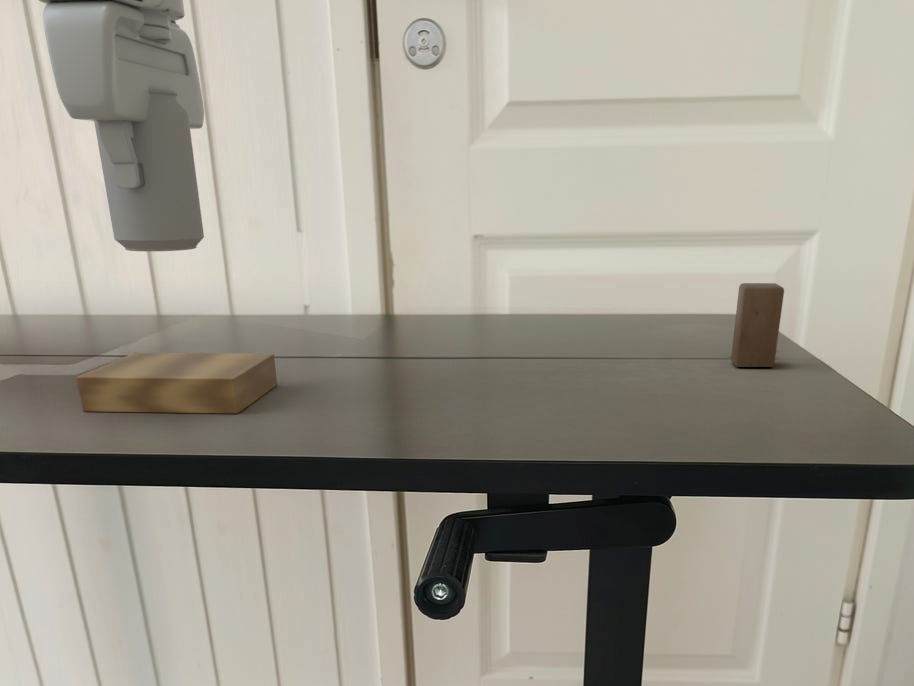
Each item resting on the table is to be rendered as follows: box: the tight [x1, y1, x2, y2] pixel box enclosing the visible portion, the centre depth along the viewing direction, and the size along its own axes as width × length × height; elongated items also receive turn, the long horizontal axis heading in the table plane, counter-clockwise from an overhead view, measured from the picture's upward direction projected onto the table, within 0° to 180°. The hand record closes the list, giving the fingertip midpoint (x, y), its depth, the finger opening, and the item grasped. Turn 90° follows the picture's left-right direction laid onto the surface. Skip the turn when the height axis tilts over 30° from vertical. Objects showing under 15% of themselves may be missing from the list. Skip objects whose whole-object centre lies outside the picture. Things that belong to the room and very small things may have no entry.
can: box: [93, 89, 205, 252], centre depth 77 cm, size 8×8×12 cm
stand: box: [76, 352, 278, 415], centre depth 84 cm, size 14×12×3 cm
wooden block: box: [730, 282, 785, 368], centre depth 95 cm, size 4×4×8 cm
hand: (153, 187), depth 77 cm, fingers closed on can, 7 cm apart
